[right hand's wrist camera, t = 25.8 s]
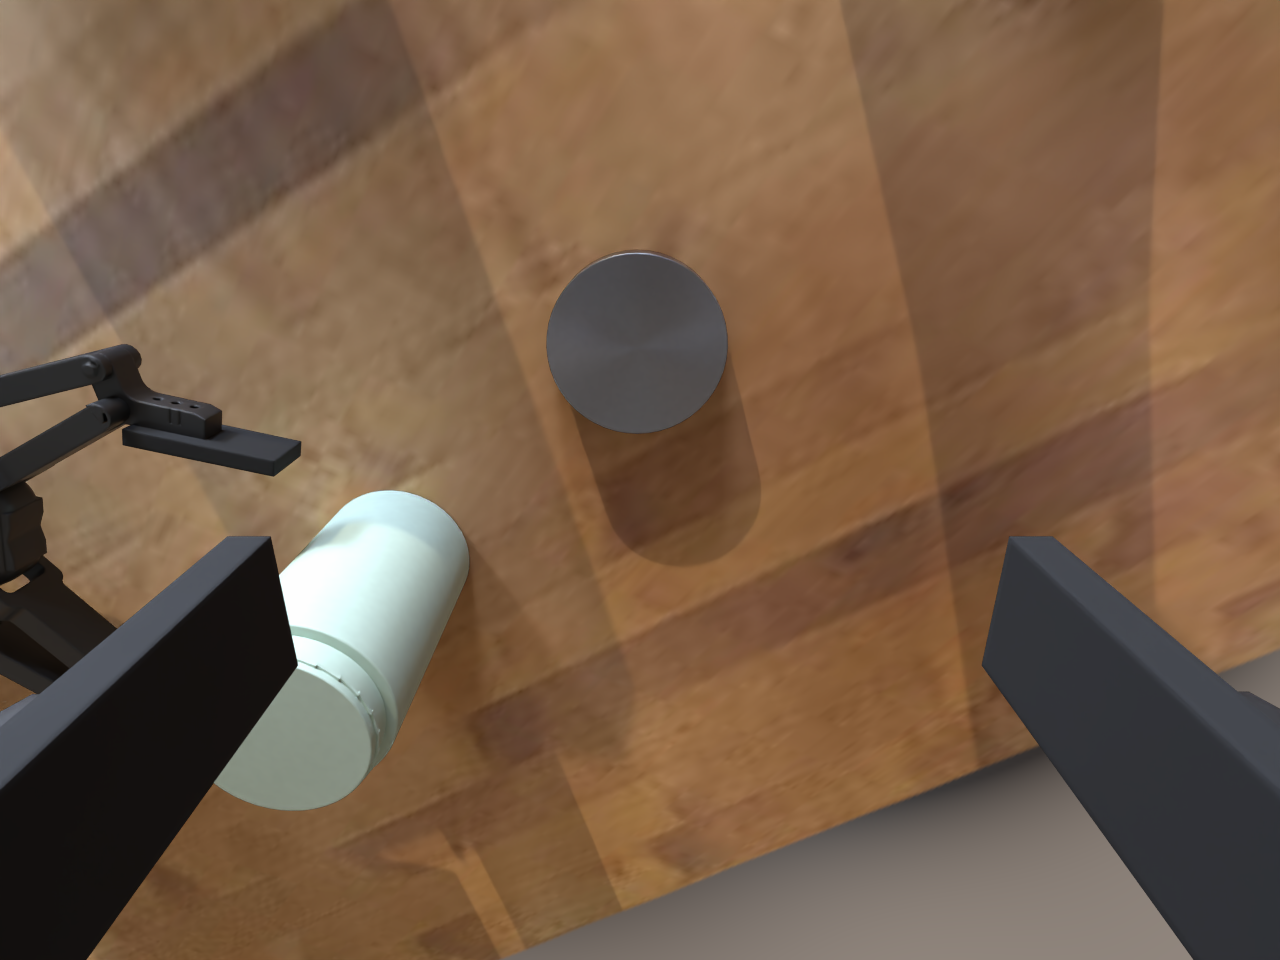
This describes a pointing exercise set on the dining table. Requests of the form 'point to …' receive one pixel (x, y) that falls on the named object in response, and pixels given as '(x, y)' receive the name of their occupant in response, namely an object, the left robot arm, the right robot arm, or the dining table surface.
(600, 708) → the dining table surface
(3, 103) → the dining table surface
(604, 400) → the lid
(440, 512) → the jar
